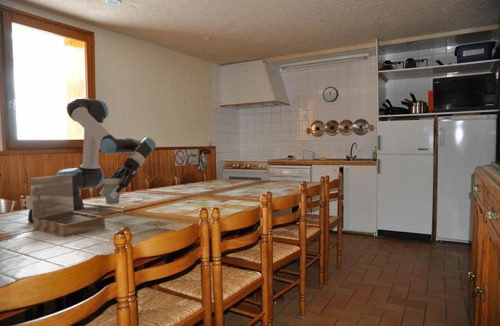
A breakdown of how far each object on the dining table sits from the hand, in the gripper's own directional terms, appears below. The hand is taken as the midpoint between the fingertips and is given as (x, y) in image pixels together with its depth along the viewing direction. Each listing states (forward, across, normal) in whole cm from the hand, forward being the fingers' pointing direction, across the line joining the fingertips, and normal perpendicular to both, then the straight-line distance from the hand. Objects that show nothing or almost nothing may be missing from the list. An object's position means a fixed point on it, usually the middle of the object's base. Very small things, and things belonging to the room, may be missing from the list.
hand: (106, 196), depth 165 cm
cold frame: (+22, +1, -5) cm, 22 cm away
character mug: (+24, -27, -6) cm, 37 cm away
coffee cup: (+1, 0, +5) cm, 5 cm away
